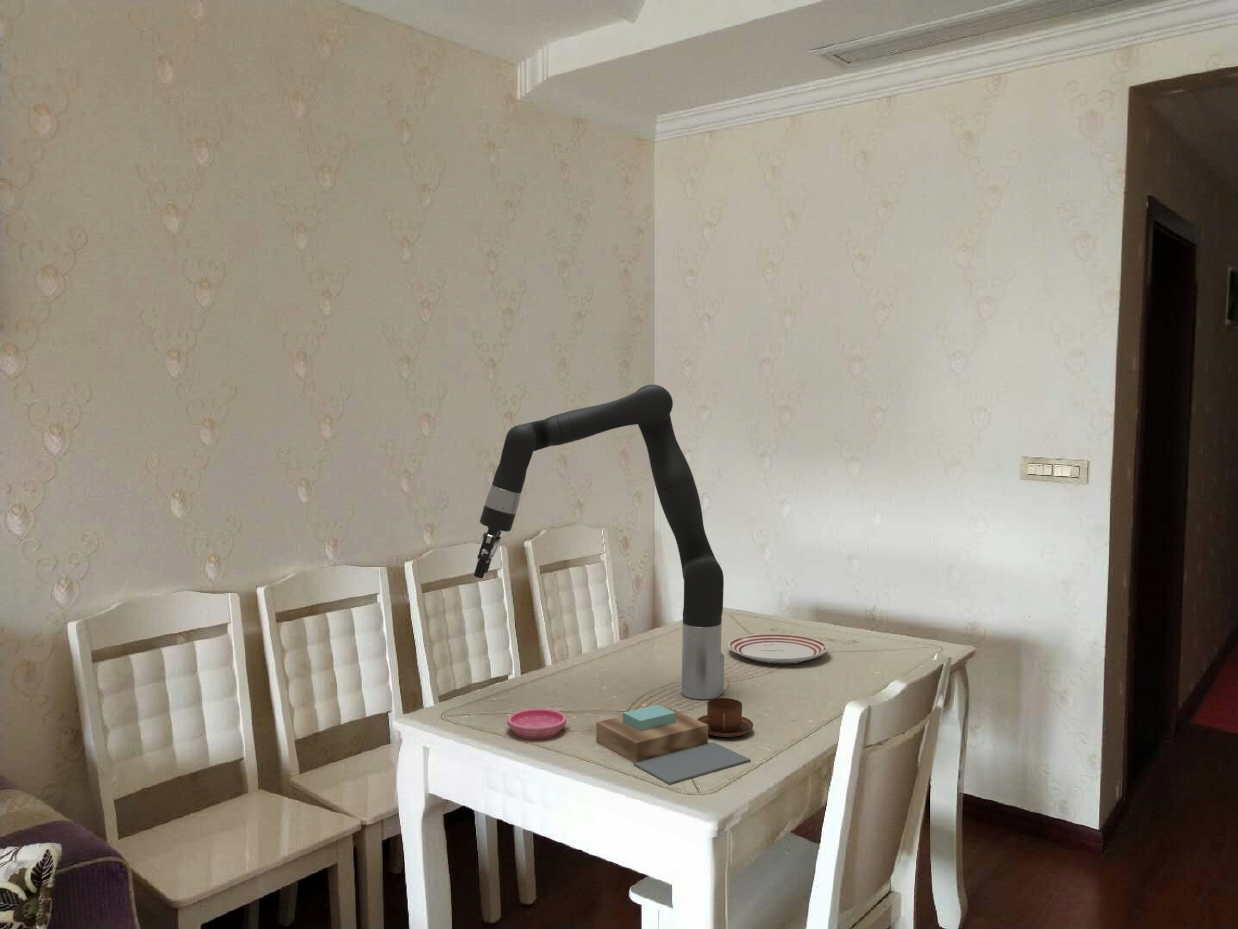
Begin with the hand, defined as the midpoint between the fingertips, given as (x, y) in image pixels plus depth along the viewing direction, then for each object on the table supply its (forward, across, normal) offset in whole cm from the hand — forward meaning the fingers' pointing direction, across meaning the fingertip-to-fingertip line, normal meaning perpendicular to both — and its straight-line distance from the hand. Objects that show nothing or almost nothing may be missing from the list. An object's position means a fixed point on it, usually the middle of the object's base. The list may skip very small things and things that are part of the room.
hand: (480, 574), depth 217 cm
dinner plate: (+5, +38, -82) cm, 91 cm away
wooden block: (+18, -28, -45) cm, 56 cm away
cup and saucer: (+14, -21, -61) cm, 66 cm away
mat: (+16, -39, -52) cm, 67 cm away
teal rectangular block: (+14, -27, -44) cm, 53 cm away
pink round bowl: (+25, -21, -23) cm, 40 cm away
